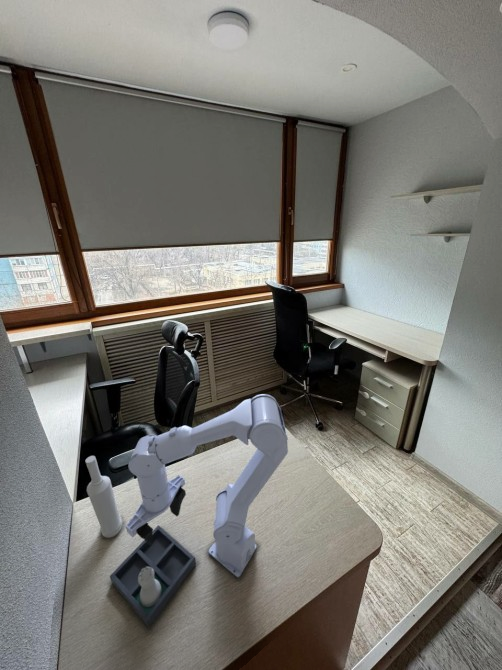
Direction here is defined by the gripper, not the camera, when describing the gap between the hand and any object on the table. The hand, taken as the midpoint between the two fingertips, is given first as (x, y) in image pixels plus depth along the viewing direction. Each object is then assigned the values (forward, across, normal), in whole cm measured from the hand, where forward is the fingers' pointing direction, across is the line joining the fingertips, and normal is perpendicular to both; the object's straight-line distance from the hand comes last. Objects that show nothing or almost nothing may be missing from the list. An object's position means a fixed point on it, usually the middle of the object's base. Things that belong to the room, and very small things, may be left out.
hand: (162, 527), depth 63 cm
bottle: (+10, +4, -17) cm, 20 cm away
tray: (+9, +5, +1) cm, 11 cm away
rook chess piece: (+9, +8, +4) cm, 12 cm away
